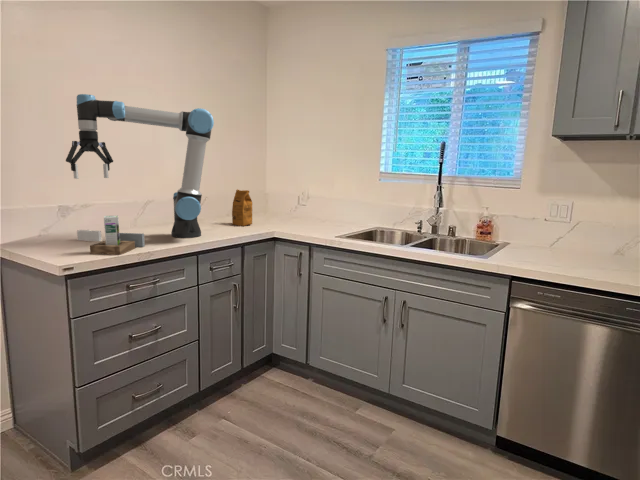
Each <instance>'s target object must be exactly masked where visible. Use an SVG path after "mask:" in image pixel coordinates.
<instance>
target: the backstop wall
mask: <svg viewBox="0 0 640 480" xmlns="http://www.w3.org/2000/svg"><path fill="white" fill-rule="evenodd" d="M119 234H120V241H135V248H144V247H145V246H146V245H145V234H144V232H143V233H140V232H139V233H136V232H133V233H132V232H119Z"/></svg>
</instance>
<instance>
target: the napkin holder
mask: <svg viewBox="0 0 640 480" xmlns="http://www.w3.org/2000/svg"><path fill="white" fill-rule="evenodd" d="M76 236H77V238H76V239H77V241H85V242H102V241H101V240H102V231H101V230H90V229H77V231H76Z"/></svg>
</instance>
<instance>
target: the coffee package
mask: <svg viewBox="0 0 640 480" xmlns="http://www.w3.org/2000/svg"><path fill="white" fill-rule="evenodd" d="M233 197H234V198H233V200H232V201H233V202H232V209H231V217H232V219H231V222H232V223H231V225H232V226H237V227H245V226H250V225H253V200H252V198H251V196H250V190H249V189H248V190H244V189H242V190H240V189H238V188H237V189H236V190H235V193H234V196H233Z"/></svg>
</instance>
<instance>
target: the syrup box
mask: <svg viewBox="0 0 640 480" xmlns="http://www.w3.org/2000/svg"><path fill="white" fill-rule="evenodd" d="M119 221H120V220H119V215H104V216H103V224H104V225H103V226H104V227H103V228H104V235H105V236H104V238H105V240H104V241H106V245H120V234H119V233H120V222H119Z"/></svg>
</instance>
